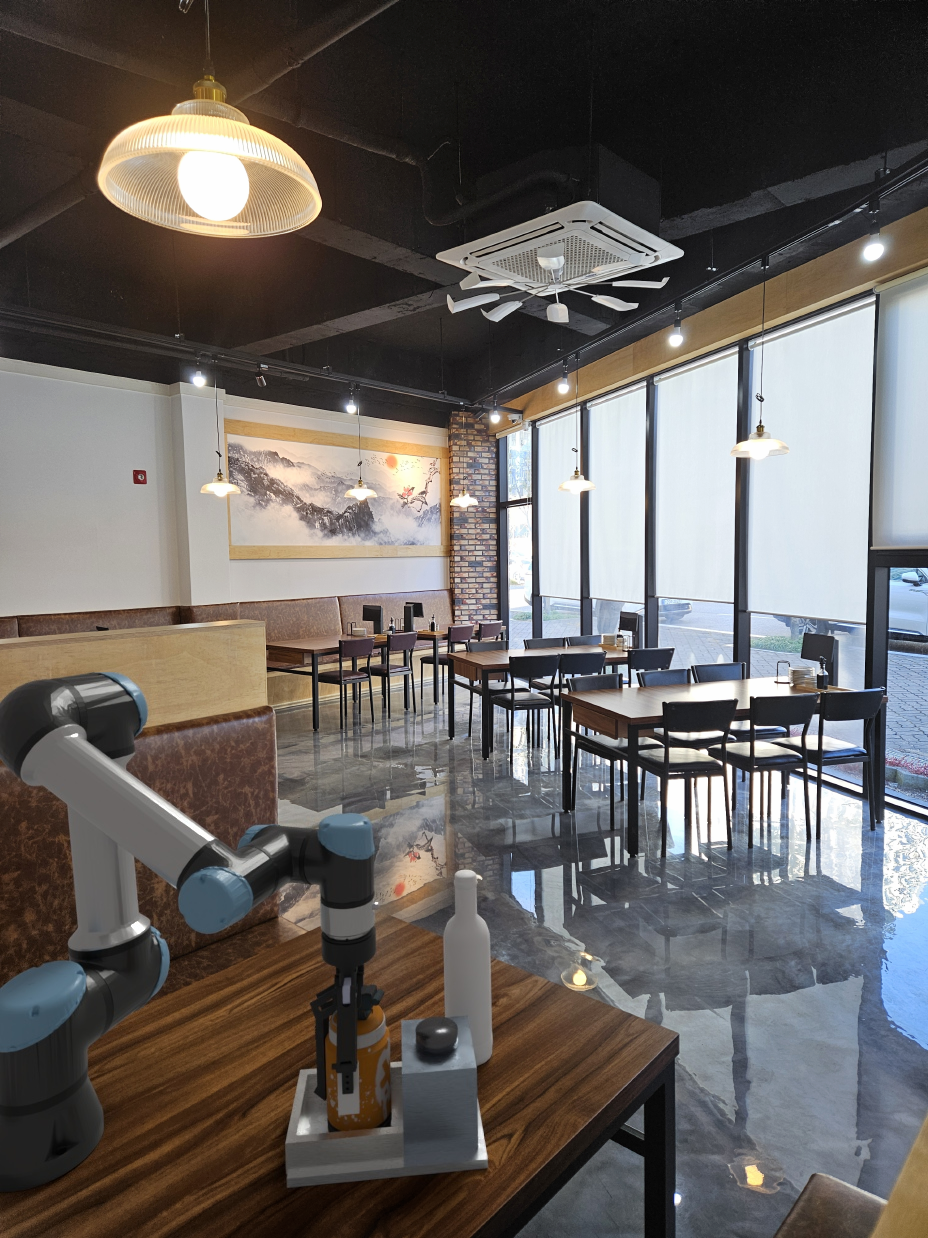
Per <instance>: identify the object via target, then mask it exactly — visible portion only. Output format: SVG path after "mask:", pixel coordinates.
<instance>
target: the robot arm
mask: <svg viewBox="0 0 928 1238" xmlns="http://www.w3.org/2000/svg"><path fill="white" fill-rule="evenodd" d="M146 700H147V699H146V697H145V695H144V693H143V691H142V690H141V688H140V687H139V685H138V684H137V683H135V682H133V681H132V680H131V678H129V677H128V676H127V675H124V674H123V673H119V672H116V671H115V672H113V671H106V672H104V671H103V672H100V671H99V672H95V671H92V672H88V673H82V674H80V673H79V674H74V675H69V676H67V675H66V676H62V677H54V678H48V679H47V678H44V679H43V678H42V679H36V680H32V681H28V682H26V683H23V684H21V685H19V686H17V687H16V688H14V689H13V690H11V691H10V692H8V693H7V694H6V695H5V696H4V697H3V698H2V700H1V701H0V760H1V762H2V763H3V764H4V766H5V767H6V768H7V769H8V770H9V771H10V772H11V773H12V774H14V776H16V777H17V778H19V779H20V780H21V781H22V782H24V783H25V784H26V785H28V786H32V787H39V786H43V787H44V788H45V789H46V790H48V791H49V792H50V793H52V794H54V796H56V797H57V798H58V799H60V800H61V801H62V802H63V803H65V804H66V805H67V816H68V818H67V819H68V827H69V828H68V830H69V839H70V851H71V860H72V861H71V862H72V864H71V865H72V872H73V873H72V874H73V886H74V895H75V896H74V899H75V905H76V907H75V908H76V916H77V928H76V930H75V931H74V932H73V933H72V935H70V937H69V939H68V941H67V946H68V956H69V957H68V959H69V960H65V959H64V960H63V959H62V960H54V961H49V962H45V963H42V965H40V966H38V967H36V966H33V967H31V968H29V969H26V970H24V971H22V972H20V973H19V974H17V975H16V976H14V977H13V978H11V979H9V980H8V981H7V982H6V983H5V984H4V985H2V986H1V987H0V1192H2V1193H4V1192H5V1193H12V1192H20V1191H25V1190H29V1189H33V1188H36V1187H38V1186H42V1185H45V1184H47V1183H50V1182H52V1181H53V1180H55V1179H58V1178H59V1177H61V1176H63V1175H65V1174H67V1173H68V1172H70V1171H71V1170H73V1169H74V1168H76V1167H77V1166H78V1165H80V1164H81V1163H82V1162H83V1161H84V1160H85V1159H86V1158H88V1157H89V1156H90V1154H91V1153H92V1152H93V1151H94V1150H95V1148H97V1146H98V1144H99V1142H100V1141H101V1138H102V1136H103V1133H104V1124H105V1121H104V1109H103V1107H102V1104H101V1102H100V1100H99V1098H98V1095H97V1093H96V1091H95V1088H94V1086H93V1084H92V1082H91V1080H90V1077H89V1067H88V1066H89V1065H88V1064H89V1063H88V1049H89V1047H90V1046H91V1045H92V1044H94V1043H95V1042H96V1041H98V1040H99V1039H100V1038H101V1037H103V1036H104V1035H105V1034H107V1033H108V1032H109V1031H111V1030H112V1029H113V1028H115V1027H116V1026H117V1025H118V1024H120V1023H121V1022H122V1021H123V1020H125V1019H126V1018H128V1017H129V1016H130V1015H132V1014H133V1013H134V1012H137V1011H139V1010H140V1009H142V1008H143V1007H144V1006H145V1005H147V1003H148V1002H149V1001H150V1000H151V999H152V997H153V996H155V995H156V994H157V993H158V992H159V991H160V990H161V988H162V987H163V985H164V984H165V982H166V979H167V977H168V974H169V969H170V964H171V963H170V960H171V959H170V958H171V957H170V951H169V947H168V943H167V942H166V940H165V938H161V935H162V933H160V931H159V930H158V929H156V928H155V927H154V926H152V925H151V920H150V918H148V917H147V916H145V915H143V914H142V913H140V912H139V911H140V909H139V901H138V899H139V898H138V888H137V887H138V886H137V879H136V878H137V876H136V866H135V865H136V864H135V858H136V860H138V861H139V862H140V863H142V864H143V865H145V866H146V867H147V868H149V869H150V870H152V871H153V872H154V873H155V874H156V875H157V876H159V878H161V879H162V880H163V881H165V882H167V883H168V884H169V885H170V886H171V887H173V888H174V889H176V890H177V891H178V892H179V894H178V900H177V902H178V910H179V913H180V914H182V915H183V917H184V921H185V923H186V924H187V925H188V927H190V928H191V930H193V931H196V932H198V933H201V934H206V935H207V934H210V935H211V934H215V933H219V932H221V931H222V930H225V929H226V928H229V927H230V926H232V925H234V924H235V923H237V922H239V921H241V920H242V919H243V918H245V916H246V915H247V914H249V912H251V911H252V910H254V908H256V907H257V906H258V905H260V904H261V903H263V902H264V901H265V900H267V899H269V898H270V897H271V896H273V895H274V894H275V893H277V892H278V891H280V889H282V888H283V887H285V886H286V885H288V884H301V885H308V886H309V885H310V886H314V885H316V886H319V894H320V899H319V907H320V909H319V911H320V912H319V913H320V917H319V918H320V919H319V920H320V930H321V931H322V932H321V936H320V937H321V958H322V960H323V961H324V963H325V964H327V965H329V966H331V967H335V974H334V979H333V981H334V982H333V984H334V985H335V988H336V1003H335V1005H336V1008H337V1052H336V1063H333V1064H332V1070H336V1073H337V1081H338V1115H348V1114H359V1111H360V1105H359V1064H358V1060H357V1022H358V1009H359V1008H360V1007H361V1001H362V987H363V985H365V983H364V982H365V981H364V977H365V976H364V975H365V964H366V963H368V962H370V961H371V960H372V959H373V957H375V955H376V953H377V936H376V935H377V933H376V932H377V931H376V927H375V924H376V910H379V909H380V903H379V902H378V901H375V894H376V893H375V853H376V852H375V850H376V847H375V844H374V843H375V842H374V835H373V834H374V833H373V832H374V831H373V823H372V822H371V819H370V818H369V817H367V816H365V815H364V814H360V813H355V812H347V813H335V814H334V813H333V814H331V815H328V816H325V817H324V818H322V819H321V821H319V823H318V828H309V827H301V826H299V827H297V826H289V825H287V826H286V825H281V824H275V823H272V824H256V825H253V826H250V827H249V828H248V829H246V830H245V832H244V836H242V837H241V838H240V839H239V842H238V845H237V849H236V850H235V849H234V850H233V848H231V847H230V846H228V844H226V843H225V842H223V841H222V840H220V839H219V838H218V837H216V836H215V835H214V834H212V833H211V832H209V831H208V830H207V829H205V828H204V827H202V826H201V825H200V824H199V823H198V822H196V821H195V820H194V819H192V818H190V817H189V816H188V815H186V814H185V813H184V812H182V811H181V810H180V809H179V808H178V807H176V806H174V805H173V804H172V803H170V802H169V801H168V800H166V799H165V798H164V797H162V796H161V795H160V794H159V793H157V792H156V791H155V790H153V789H152V788H150V787H149V786H148V785H146V784H145V783H144V782H143V781H141V780H139V778H137V777H136V776H135V775H133V774H132V773H130V772H129V771H128V770H127V764H128V763H129V762H130V761H131V759H132V758H133V757H134V756H135V755H136V748H135V738H136V737H138V736H139V734H140V733H142V731H143V728H144V727H145V726H146V724H147V722H148V716H149V713H148V711H149V709H148V704H147V703H148V702H147V701H146ZM356 999H357V1000H356Z"/></svg>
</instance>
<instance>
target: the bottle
mask: <svg viewBox="0 0 928 1238" xmlns="http://www.w3.org/2000/svg"><path fill="white" fill-rule="evenodd" d="M477 885H478V879H477V873H476V872H475V871H473V870H471V869H461V870H458V871H456V872H455V873H454V880H453V886H454V905H455V906H454V911H455V913H454V915H453V916H452V917H451V918H449V919H448V921H447V922H446V925H445V928H444V931H443V938H442V939H443V941H442V942H443V977H444V978H443V980H444V981H443V983H444V984H443V986H444V987H443V988H444V1017H454V1016H467V1015H468V1020H469V1026H470V1032H471V1037H472V1043H473V1049H474V1055H475V1060H476V1066H477V1067H478V1066H480V1065H482V1064H485V1063H486V1062H487V1061H489V1060H490V1059H491V1057H492V1054H493V1046H494V1045H493V1044H494V1040H493V1039H494V1038H493V1029H492V1028H493V1022H492V1020H493V1019H492V1016H493V1015H492V971H491V967H492V966H491V934H490V931H489V930H490V929H489V928H488V924H487V921H485V920H484V919H483V918H482V916H480V915H479V914H478V910H477V909H478V906H477V904H478V900H477V898H478V897H477V896H478V895H477V894H478V893H477V892H478V891H477V890H478V889H477Z"/></svg>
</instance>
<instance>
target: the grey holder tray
mask: <svg viewBox="0 0 928 1238" xmlns="http://www.w3.org/2000/svg"><path fill="white" fill-rule="evenodd" d="M400 1022H401V1023H400V1024H401V1033H400V1034H401V1036H400V1037H401V1061H392V1062H391V1061H390V1064H391V1102H392V1107H391V1108H392V1121H391V1125H390V1127H385V1128H374V1129H363V1130H352V1131H341V1132H330V1133H329V1132H328V1123H327V1099H326V1101H324V1100H323V1099H321V1098H320V1097H319V1096H318V1095H316V1094H315V1093H314V1090H315V1089H316V1087H317V1067H316V1068H306V1069H300V1070H299V1075H298V1080H297V1084H296V1088H295V1089H296V1090H295V1094H294V1099H293V1105H292V1109H291V1115H290V1118H289V1124H288V1129H287V1133H286V1139H285V1144H284V1145H285V1147H284V1148H285V1175H286V1188H287V1189H288V1188H289V1189H291V1188H300V1187H307V1186H308V1187H309V1186H319V1185H321V1186H322V1185H331V1184H339V1183H349V1182H351V1183H352V1182H361V1181H369V1180H370V1181H373V1180H380V1179H381V1180H382V1179H389V1178H390V1179H391V1178H402V1177H409V1176H410V1177H411V1176H420V1175H421V1176H423V1175H431V1174H441V1173H442V1174H443V1173H450V1172H451V1173H452V1172H461V1171H474V1170H481V1169H488V1168H489V1160H488V1152H487V1147H486V1141H485V1136H484V1128H483V1121H482V1115H481V1111H480V1110H481V1109H480V1105H479V1099H478V1097H479V1096H478V1070H477V1069H478V1068H477V1067H478V1066H476V1060H475V1055H474V1049H473V1043H472V1037H471V1032H470V1026H469V1020H468V1015H467V1016H454V1017H445V1016H431V1017H426V1018H417V1019H406V1020H405V1019H403V1020H402V1019H401V1021H400Z"/></svg>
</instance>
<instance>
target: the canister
mask: <svg viewBox="0 0 928 1238" xmlns="http://www.w3.org/2000/svg"><path fill="white" fill-rule="evenodd" d="M385 992H386V991H385V990H383V989H381V988H378V986H377V984H369V985H368V984H364V985H363V987H362V1001H361V1007H360V1008H359V1009H358V1022H357V1060H358V1064H359V1105H360V1111H359V1114H348V1115H338V1081H337V1073H336V1070H332V1064H333V1063H336V1052H337V1008H336V1005H335V1003H336V988H335V985H334V983H333V984H331V985H329V986H327V987H326V988H324V989H322V990H320V991H319V992H318V993H316V994H315V997H316V998H315V999H313V1000H311V1002H309V1005H310V1008H311V1011H312V1014H313V1017H314V1020H315V1021H314V1023H315V1026H314V1034H315V1035H314V1040H315V1052H316V1053H315V1055H316V1056H315V1058H316V1068H317V1087H316V1089H315V1090H314V1093H315V1094H316V1095H318V1096H319V1097H320V1098H321V1099H323V1100H324V1101H326V1099H327V1123H328V1132H329V1133H330V1132H341V1131H352V1130H363V1129H374V1128H385V1127H390V1125H391V1121H392V1108H391V1107H392V1102H391V1064H390V1062H391V1038H390V1037H391V1035H390V1034H391V1033H390V1029H389V1028H388V1026H387V1024H386V1016H385V1012H384V1011H383V1009H382V1008H381V1006H380V1005H379V1004H380V1003H381V1001H382V999H383V998H384V996H385ZM356 1000H357V999H356ZM319 1007H320V1008H319Z"/></svg>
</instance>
